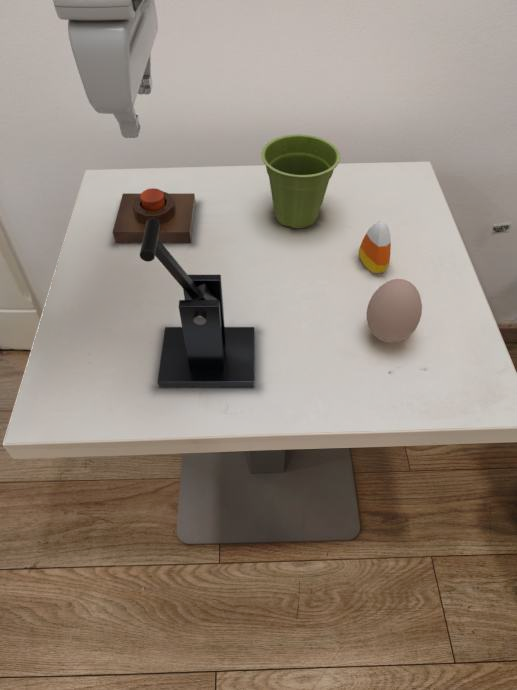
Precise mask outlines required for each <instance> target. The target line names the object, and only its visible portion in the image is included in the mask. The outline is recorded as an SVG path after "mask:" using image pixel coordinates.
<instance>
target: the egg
mask: <svg viewBox="0 0 517 690" xmlns="http://www.w3.org/2000/svg"><path fill="white" fill-rule="evenodd" d="M422 314H423V303H422V298H421V294H420V292H419V290H418V288H417V286H415V285H414V283H412V282H411V281H408V280H407V279H404V278H393V279H390V280H388V281H386V282H384V283H382V285H380V286H378V288H377V289H376V290H375V292H374V293H372V295H371V297H370V299H369V301H368V305H367V308H366V323H367V326H368V329H369V330H370V332H371V333H372V334H373V336H374V337H375V338H377V340H379V341H382V342H386V343H398V342H402V341H404V340H406V339H407V338H409V337H410V336H411V335H412V334H413V333H414V332H415V331H416V329H417V327H418V325H419V324H420V321H421V319H422Z"/></svg>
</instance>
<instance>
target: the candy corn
mask: <svg viewBox="0 0 517 690" xmlns="http://www.w3.org/2000/svg"><path fill="white" fill-rule="evenodd" d="M391 243H392V239H391V231H390V228H389V226H388V224H387V223H385V222H384V221H383V220H379V221H377V222H375V223H373V224H372V225H371V226H370V227H369V228H368V230H367V232H366V233H365V235H364V237H362V240H361V243H360V246H359V248H358V257H359V259H360V261H361V263H362V265H363V267H365V268H366V269H367V270H369V272H372V273H373V274H383V273H384V272H385V271H386V270H387V269H388V268H389V267H390V261H391V250H392V249H391V246H392V244H391Z"/></svg>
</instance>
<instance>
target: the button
mask: <svg viewBox="0 0 517 690" xmlns="http://www.w3.org/2000/svg"><path fill="white" fill-rule="evenodd" d="M162 191H163V190H161V189H159V188H154V187H153V188H148V189H145V190H143V191H142V192H140V193H141V195H140V197H141V202H142V207H143V208H144V209H145V210H147V211H156V210H159V209H162V208H163V207H164V205H165V200H164V194H163V192H164V191H163V192H162Z"/></svg>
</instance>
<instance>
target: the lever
mask: <svg viewBox="0 0 517 690" xmlns="http://www.w3.org/2000/svg"><path fill="white" fill-rule="evenodd" d="M159 230H160V223H159V221H158V220H156V219H153V218H151V219H148V220H147V222H146V226H145V231H144V236H143V241H142V243H141V246H140V251H139V258H140V260H142V261H144V262H149V263H150V262H153V261H154V259H155V258H156V259H157V260H158V261H159V263H161V265H162V266H163V267H164V268H165V269H166V270H167V271H168V273H169V274H170V275H171V277H173V279H174V280H175V281H176V282H177V283H178V285H179V286H181V288H182V290H183V289H184V290H185V291H186V293H187V295H186V300H217V298H216V297H215V296H214V294H213V293H212V292H211V291H210V289H209V288H208V287H207V285H206V284H202V285H199V286H196V284H195V283H194V282H193V281H192V279H191V278H190V277H189V276H188V275H189V274H188V273H187V272H186V271H185V270H184V268H183V267H182V265H180V264H179V262H178V261H177V260H176V259H175V258H174V256H173V255H172V254H171V253H170V251H169V250H168V249H167V248H166V246H165V245H164V243H161V242H160V240H159V239H158V235H159Z"/></svg>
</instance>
